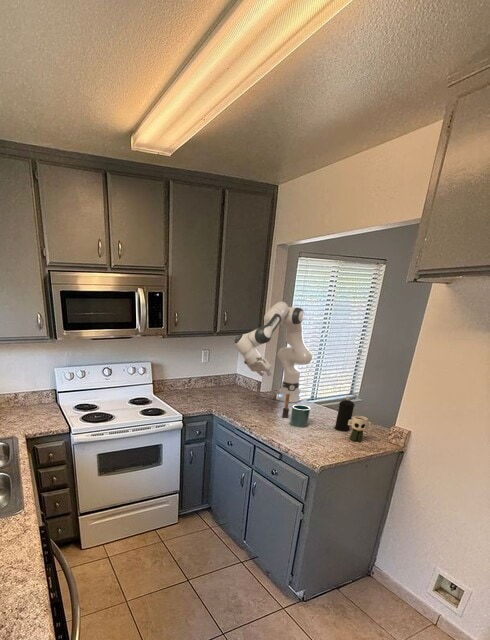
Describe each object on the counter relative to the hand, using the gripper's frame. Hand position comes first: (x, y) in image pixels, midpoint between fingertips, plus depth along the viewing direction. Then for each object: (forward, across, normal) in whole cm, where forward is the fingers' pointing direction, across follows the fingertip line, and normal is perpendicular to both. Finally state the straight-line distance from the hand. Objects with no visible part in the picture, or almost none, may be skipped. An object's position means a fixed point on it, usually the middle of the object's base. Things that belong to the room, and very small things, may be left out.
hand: (266, 375), depth 222 cm
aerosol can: (+50, -23, -8) cm, 56 cm away
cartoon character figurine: (+50, -39, -2) cm, 64 cm away
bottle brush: (+32, +4, +5) cm, 32 cm away
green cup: (+35, -10, +6) cm, 37 cm away
